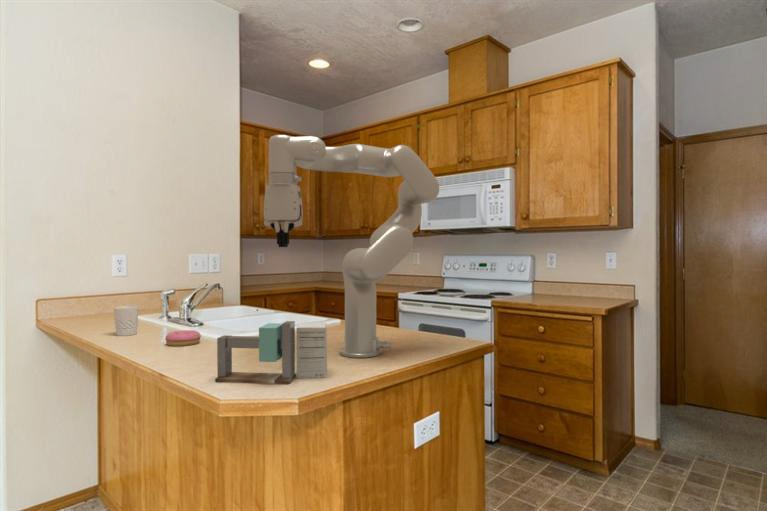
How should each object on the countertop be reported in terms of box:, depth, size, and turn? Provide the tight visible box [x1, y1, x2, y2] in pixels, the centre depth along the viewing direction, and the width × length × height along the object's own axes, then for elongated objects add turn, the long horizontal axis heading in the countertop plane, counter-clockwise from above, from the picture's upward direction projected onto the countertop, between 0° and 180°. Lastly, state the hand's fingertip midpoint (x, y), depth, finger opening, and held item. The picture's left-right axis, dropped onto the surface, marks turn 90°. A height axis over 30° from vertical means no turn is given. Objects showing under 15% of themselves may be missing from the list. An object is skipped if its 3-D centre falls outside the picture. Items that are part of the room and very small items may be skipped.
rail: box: [216, 320, 296, 383], centre depth 114 cm, size 18×4×14 cm, turn 84°
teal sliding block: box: [258, 322, 282, 363], centre depth 113 cm, size 4×7×8 cm, turn 174°
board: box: [214, 371, 297, 385], centre depth 114 cm, size 18×6×1 cm, turn 84°
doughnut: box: [164, 329, 202, 347], centre depth 157 cm, size 11×11×4 cm
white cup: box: [113, 305, 139, 337], centre depth 173 cm, size 8×8×10 cm
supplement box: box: [296, 321, 328, 379], centre depth 119 cm, size 7×7×13 cm
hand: (283, 246), depth 131 cm, fingers closed
